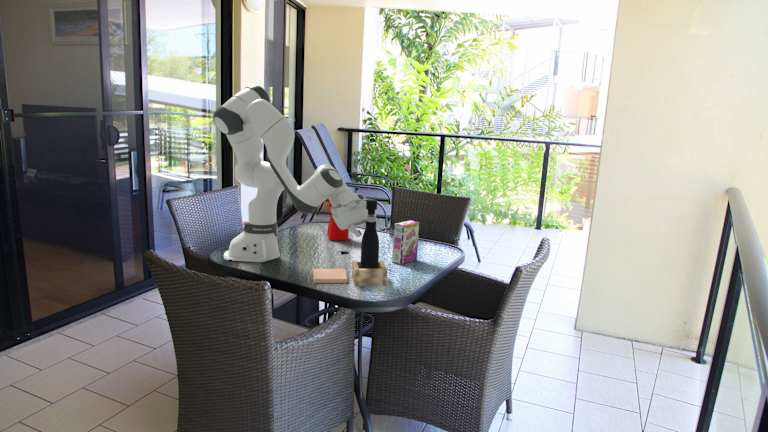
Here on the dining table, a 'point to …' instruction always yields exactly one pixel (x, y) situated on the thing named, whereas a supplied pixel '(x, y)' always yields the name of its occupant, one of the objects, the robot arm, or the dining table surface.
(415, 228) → the candy bar box
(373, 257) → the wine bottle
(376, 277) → the bottle collar
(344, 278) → the terracotta tile
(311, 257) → the dining table surface
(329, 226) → the water bottle
